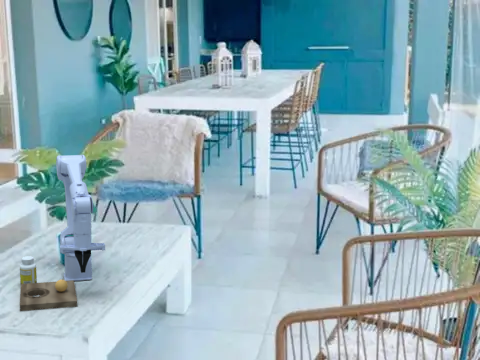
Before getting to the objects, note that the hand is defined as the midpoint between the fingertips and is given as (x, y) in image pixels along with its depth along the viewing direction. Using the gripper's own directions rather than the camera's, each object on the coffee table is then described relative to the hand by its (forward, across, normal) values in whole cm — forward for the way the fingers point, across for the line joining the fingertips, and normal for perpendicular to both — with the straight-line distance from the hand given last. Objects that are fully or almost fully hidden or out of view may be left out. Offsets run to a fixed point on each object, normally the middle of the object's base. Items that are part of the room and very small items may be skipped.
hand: (82, 271), depth 218 cm
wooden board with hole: (+8, -11, 0) cm, 14 cm away
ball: (+4, -7, 0) cm, 8 cm away
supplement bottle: (+9, -18, +13) cm, 23 cm away
